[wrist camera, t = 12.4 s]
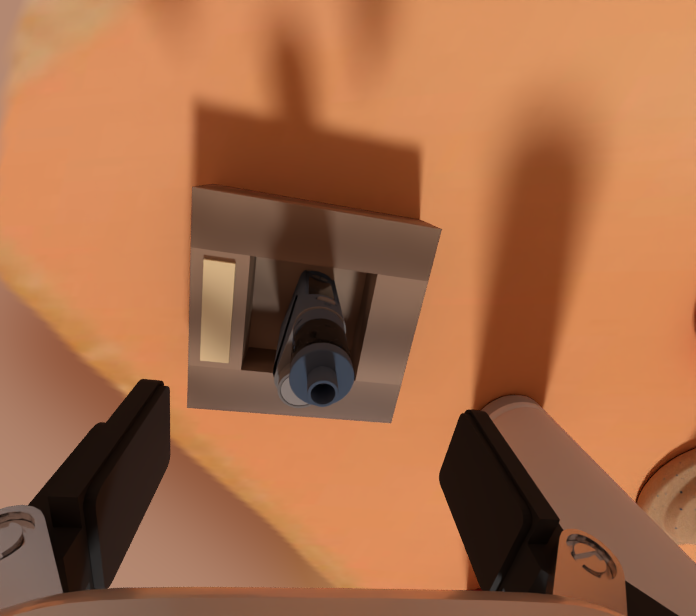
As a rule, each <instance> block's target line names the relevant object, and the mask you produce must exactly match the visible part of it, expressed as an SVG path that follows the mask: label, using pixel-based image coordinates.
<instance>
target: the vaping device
mask: <svg viewBox="0 0 696 616" xmlns="http://www.w3.org/2000/svg"><path fill="white" fill-rule="evenodd" d="M346 340H347V339H346V325H345V322H344V319H343V315H342V310H341V306H340V302H339V298H338V294H337V289H336V285H335V281H334V280H333V281H332V279H331V278H330V277H329V276H327V275H326V274H324V273H321V272H318V271H306V270H305V271H304V272H302V274H301V275H300V278H299V280H298V283H297V286H296V288H295V291H294V294H293V296H292V299H291V302H290V304H289V307H288V310H287V313H286V315H285V318H284V320H283V322H282V324H281V328H280V334H279V340H278V345H277V351H276V357H275V362H274V368H273V376H274V383H275V386H276V388H277V389H278V395H279V398H280V399H281V400H282V402H283V403H285V404H286V405H288V406H290V407H293V408H305V407H308V406H310V405H315V406H318V407H326V406H329V405H331V404H333V403H336V402H338V401H339V400H341V399H342V398H344V397H345V396H346V395H347V394H348V393H349V391H350V390H351V388H352V386H353V383H354V370H353V365H352V361H351V358H350V357H351V356H350V352H349V348H348V343H347V341H346ZM346 343H347V344H346Z"/></svg>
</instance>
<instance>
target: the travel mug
mask: <svg viewBox="0 0 696 616" xmlns="http://www.w3.org/2000/svg"><path fill="white" fill-rule="evenodd" d="M481 411H485V412H486V413H487V414H488V415H489V417H490V418H491V420H492V421H493V423H494V424H495V426H496V427H497V428H498V430H499V431H500V433H501V434H502V436H503V437H504V439H505V440H506V442H507V443H508V444H509V446H510V447H511V449H512V450H513V452H514V453H515V455H516V456H517V458H518V459H519V460H520V462H521V463H522V465H523V466H524V468H525V469H526V471H527V472H528V474H529V475H530V476H531V478H532V479H533V481H534V482H535V484H536V485H537V487H538V488H539V490H540V491H541V492H542V494H543V495H544V497H545V498H546V500H547V501H548V503H549V504H550V506H551V507H552V508H553V510H554V511H555V513H556V514H557V516H558V517H559V519H560V521H559V524H560V526H561V527H562V529H563V530H566V529H578V530H582V531H584V532H586V533H588V534H590V535H592V536H594V537H595V538H597V539H598V540H600V541H601V542H602V543H603V544H604V545H605V546H607V547H608V548H609V549H610V550H611V551H612V553H613V554H614V555H615V556H616V557H617V559H618V560H619V562H620V564H621V566H622V568H623V571H624V575H625V581H627V582H629V583H630V584H632V585H633V586H635V587H636V588H638V589H639V590H641V591H642V592H644V593H645V594H647V595H648V596H650V597H651V598H653V599H654V600H656V601H657V602H659V603H660V604H662V605H663V606H665V607H666V608H668V609H669V610H671V611H673V612H674V613H676V614H677V615H679V616H696V563H695V562H694V561H693V560H692V559H691V558H690V557H689V556H688V555H687V554H686V553H685V552H684V551H683V550H682V549H681V548H680V547H679V546H678V545H677V544H676V543H675V542H674V541H673V540H672V539H671V538H670V537H669V536H668V535H667V534H666V533H665V532H664V531H663V530H662V529H661V528H660V527H659V526H658V525H657V524H656V523H655V522H654V521H653V520H652V519H651V518H650V517H649V516H648V515H647V514H646V513H645V512H644V511H643V510H642V509H641V508H640V507H639V506H638V505H637V504H636V503H635V502H634V501H633V500H632V499H631V498H630V497H629V496H628V495H627V494H626V492H625V491H624V490H623V489H622V488H621V487H620V486H619V485H618V484H617V483H616V482H615V481H614V480H613V479H612V478H611V477H610V476H609V475H608V474H607V473H606V472H605V471H604V470H603V469H602V468H601V467H600V466H599V465H598V464H597V463H596V462H595V461H594V460H593V459H592V458H591V457H590V456H589V455H588V454H587V453H586V452H585V451H584V450H583V449H582V448H581V447H580V446H579V445H578V444H577V443H576V442H575V441H574V440H573V439H572V438H571V437H570V436H569V435H568V434H567V433H566V432H565V431H564V430H563V429H562V428H561V427H560V426H559V425H558V424H557V423H556V422H555V421H554V420H553V418H552V417H550V416H549V415H548V414H547V412H546V411H545V410H544V409H543V408H542V407H541V406H540V405H539V404H538V403H537V402H535V401H534V400H533V399H531V398H529V397H526V396H522V395H509V396H504V397H501V398H498V399H496V400H494V401H492V402H491V403H489V404H487V405H486V406H485V407H484V408H483V409H482V410H481Z"/></svg>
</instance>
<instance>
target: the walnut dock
mask: <svg viewBox="0 0 696 616" xmlns="http://www.w3.org/2000/svg"><path fill="white" fill-rule="evenodd" d="M441 230H442V229H440V228H438V227H435V226H433V225H431V224H429V223H426V222H424V221H422V220H418V219H413V218H407V217H401V216H395V215H389V214H384V213H378V212H372V211H366V210H360V209H355V208H349V207H343V206H337V205H332V204H326V203H320V202H314V201H308V200H303V199H297V198H291V197H285V196H279V195H274V194H268V193H262V192H256V191H250V190H245V189H239V188H233V187H227V186H222V185H216V184H209V185H202V186H195V187H192V215H191V260H190V304H189V349H188V393H187V408H197V409H210V410H223V411H237V412H250V413H263V414H276V415H289V416H303V417H316V418H329V419H342V420H356V421H369V422H382V423H391V421H392V418H393V414H394V410H395V406H396V402H397V398H398V395H399V391H400V387H401V383H402V379H403V376H404V372H405V368H406V364H407V360H408V356H409V353H410V349H411V345H412V341H413V337H414V334H415V330H416V326H417V322H418V318H419V314H420V311H421V307H422V303H423V299H424V295H425V292H426V288H427V284H428V280H429V276H430V272H431V269H432V265H433V261H434V257H435V253H436V249H437V246H438V242H439V238H440V234H441ZM305 270H306V271H318V272H321V273H324V274H326V275H327V276H329V277H330V278H331V279H332V281H333V280H334V281H335V285H336V289H337V294H338V298H339V302H340V306H341V310H342V315H343V319H344V322H345V325H346V339H347V340H346V341H347V343H348V348H349V352H350V356H351V357H350V358H351V361H352V365H353V370H354V383H353V386H352V388H351V390H350V391H349V393H348V394H347V395H346V396H345V397H344V398H342V399H341V400H339V401H338V402H336V403H333V404H331V405H329V406H326V407H318V406H315V405H310V406H308V407H305V408H293V407H290V406H288V405H286V404H285V403H283V402H282V400H281V399H280V398H279V395H278V389H277V388H276V386H275V383H274V376H273V368H274V362H275V357H276V351H277V345H278V340H279V334H280V328H281V324H282V322H283V320H284V318H285V315H286V313H287V310H288V307H289V304H290V302H291V299H292V296H293V294H294V291H295V288H296V286H297V283H298V280H299V278H300V275H301V274H302V272H304V271H305ZM347 343H346V344H347Z"/></svg>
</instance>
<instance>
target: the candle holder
mask: <svg viewBox="0 0 696 616" xmlns="http://www.w3.org/2000/svg"><path fill="white" fill-rule="evenodd" d="M637 505H638V506H639V507H640V508H641V509H642V510H643V511H644V512H645V513H646V514H647V515H648V516H649V517H650V518H651V519H652V520H653V521H654V522H655V523H656V524H657V525H658V526H659V527H660V528H661V529H662V530H663V531H664V532H665V533H666V534H667V535H668V536H669V537H670V538H671V539H672V540H673V541H674V542H675V543H676V544H677V545H681V544H692V545H696V448H695V449H693V450H690V451H688V452H686V453H683V454H681V455H679V456H677V457H676V458H674V459H673V460H671V461H669V462H668V463H667V464H665V465H664V466H663V467H661V468H660V469H659V470H658V471H657V472H656V473H655V474H654V475H653V476H652V477H651V478H650V479H649V481H648V482H647V483H646V485H645V486H644V488H643V489H642V491H641V493H640V495H639V498H638V501H637Z"/></svg>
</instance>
